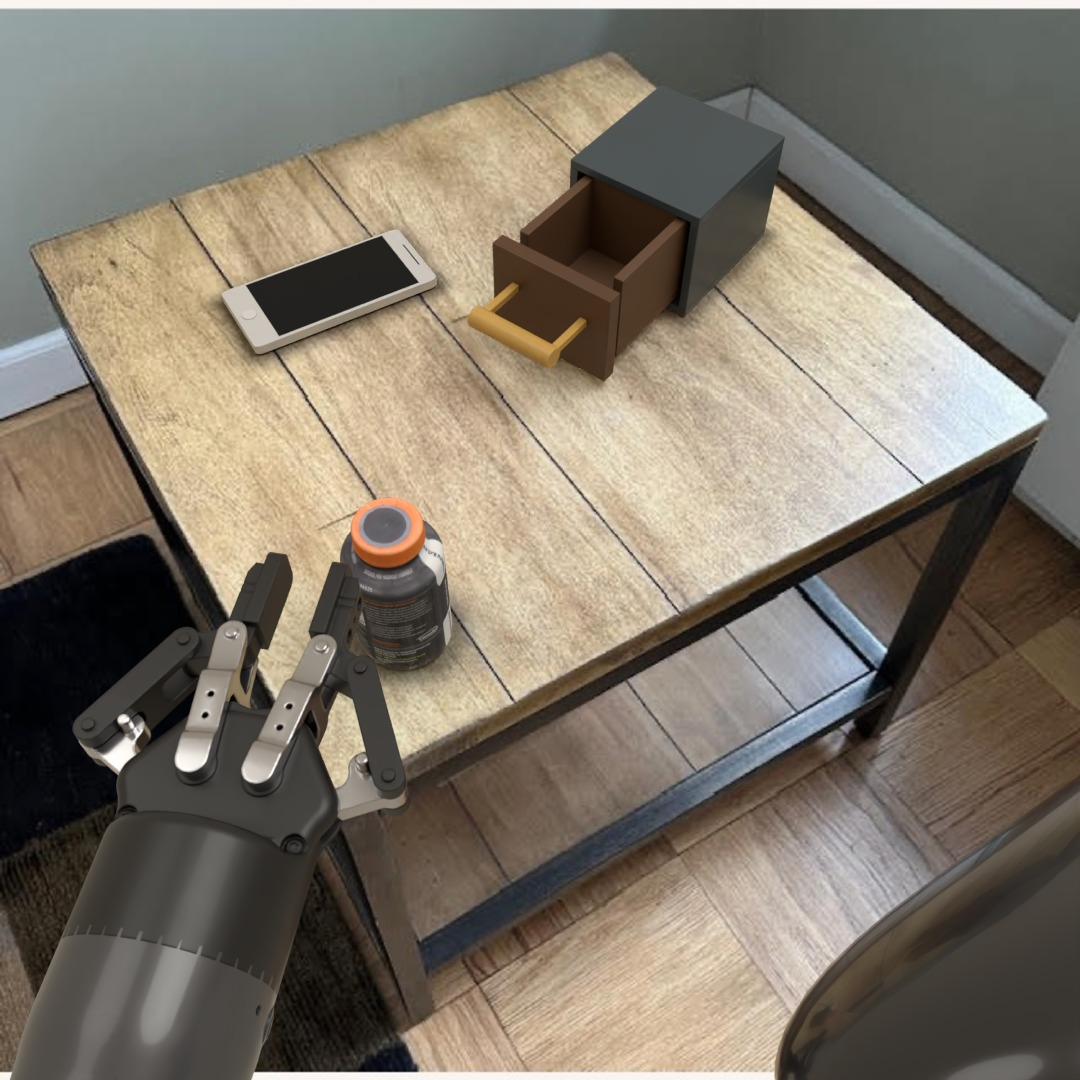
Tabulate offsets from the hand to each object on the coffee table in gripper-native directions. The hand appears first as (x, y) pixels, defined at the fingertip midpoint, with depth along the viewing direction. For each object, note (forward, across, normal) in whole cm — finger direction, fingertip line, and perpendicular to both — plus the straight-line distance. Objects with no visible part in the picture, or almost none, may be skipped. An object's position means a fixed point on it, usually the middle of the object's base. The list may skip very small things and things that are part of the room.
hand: (312, 569), depth 47 cm
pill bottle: (+9, 0, +20) cm, 22 cm away
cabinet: (+49, -12, +20) cm, 54 cm away
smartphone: (+38, +13, +20) cm, 45 cm away
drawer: (+37, -6, +19) cm, 42 cm away
